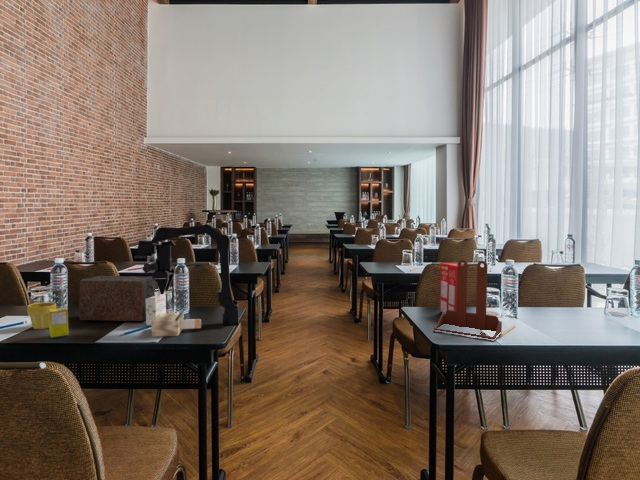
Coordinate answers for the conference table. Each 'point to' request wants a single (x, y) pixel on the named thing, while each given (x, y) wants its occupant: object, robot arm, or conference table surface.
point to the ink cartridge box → (155, 307)
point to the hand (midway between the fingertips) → (164, 292)
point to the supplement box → (58, 323)
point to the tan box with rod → (167, 324)
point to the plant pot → (40, 314)
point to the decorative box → (115, 297)
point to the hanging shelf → (480, 317)
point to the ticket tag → (190, 323)
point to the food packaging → (448, 287)
